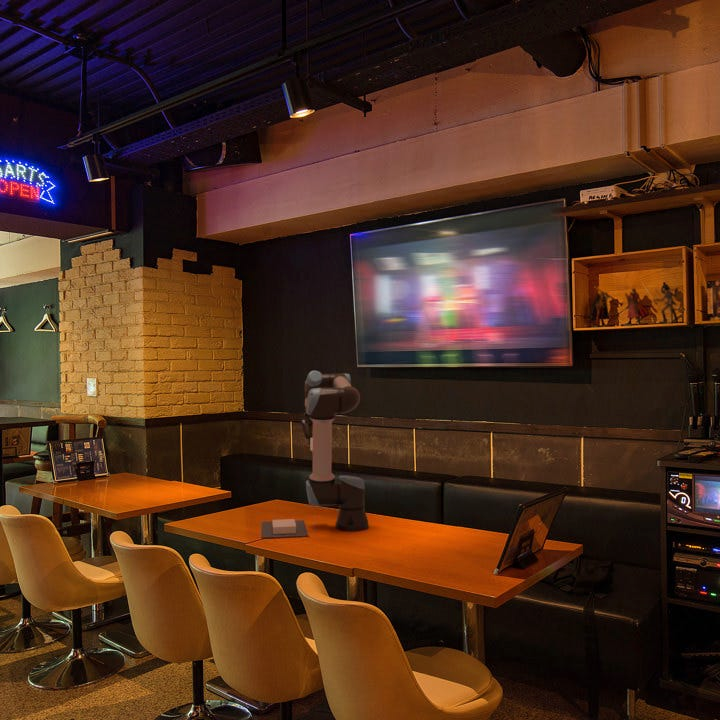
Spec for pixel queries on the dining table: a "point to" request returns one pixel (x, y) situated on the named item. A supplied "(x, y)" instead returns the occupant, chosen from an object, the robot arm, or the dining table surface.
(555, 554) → the dining table surface
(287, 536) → the mat
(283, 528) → the tile
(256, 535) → the dining table surface
